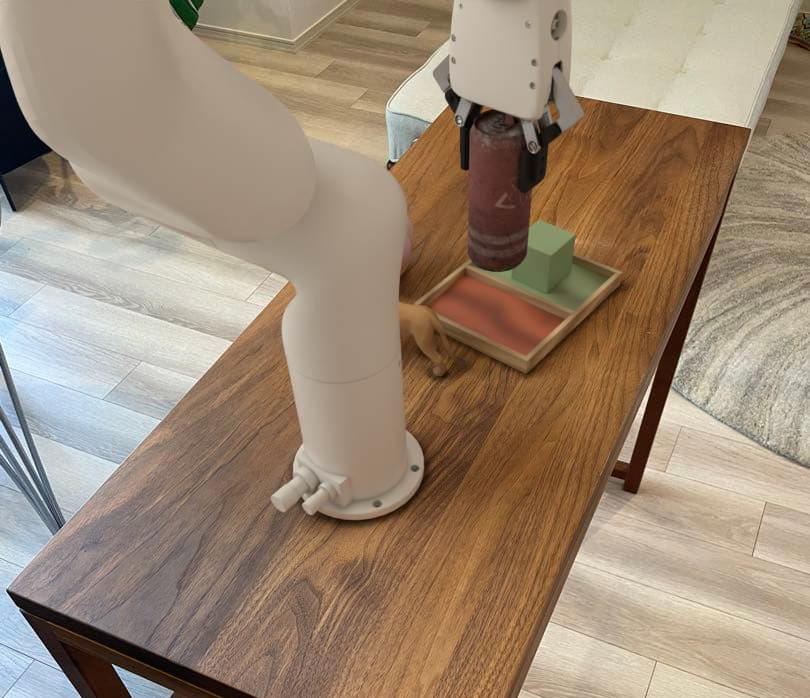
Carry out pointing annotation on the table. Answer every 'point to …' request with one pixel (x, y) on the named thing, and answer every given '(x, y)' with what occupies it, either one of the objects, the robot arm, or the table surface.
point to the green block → (546, 257)
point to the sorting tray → (517, 309)
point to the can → (497, 193)
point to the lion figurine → (425, 333)
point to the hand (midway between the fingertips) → (501, 173)
